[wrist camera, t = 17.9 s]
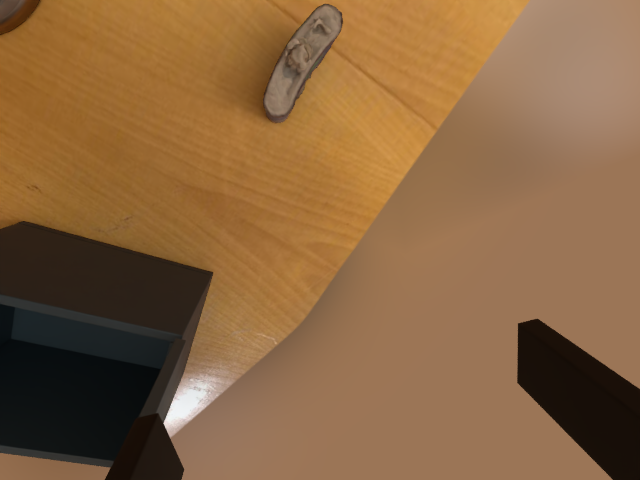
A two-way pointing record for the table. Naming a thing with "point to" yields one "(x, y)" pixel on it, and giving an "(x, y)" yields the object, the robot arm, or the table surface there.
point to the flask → (300, 61)
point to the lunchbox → (85, 340)
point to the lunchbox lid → (164, 382)
